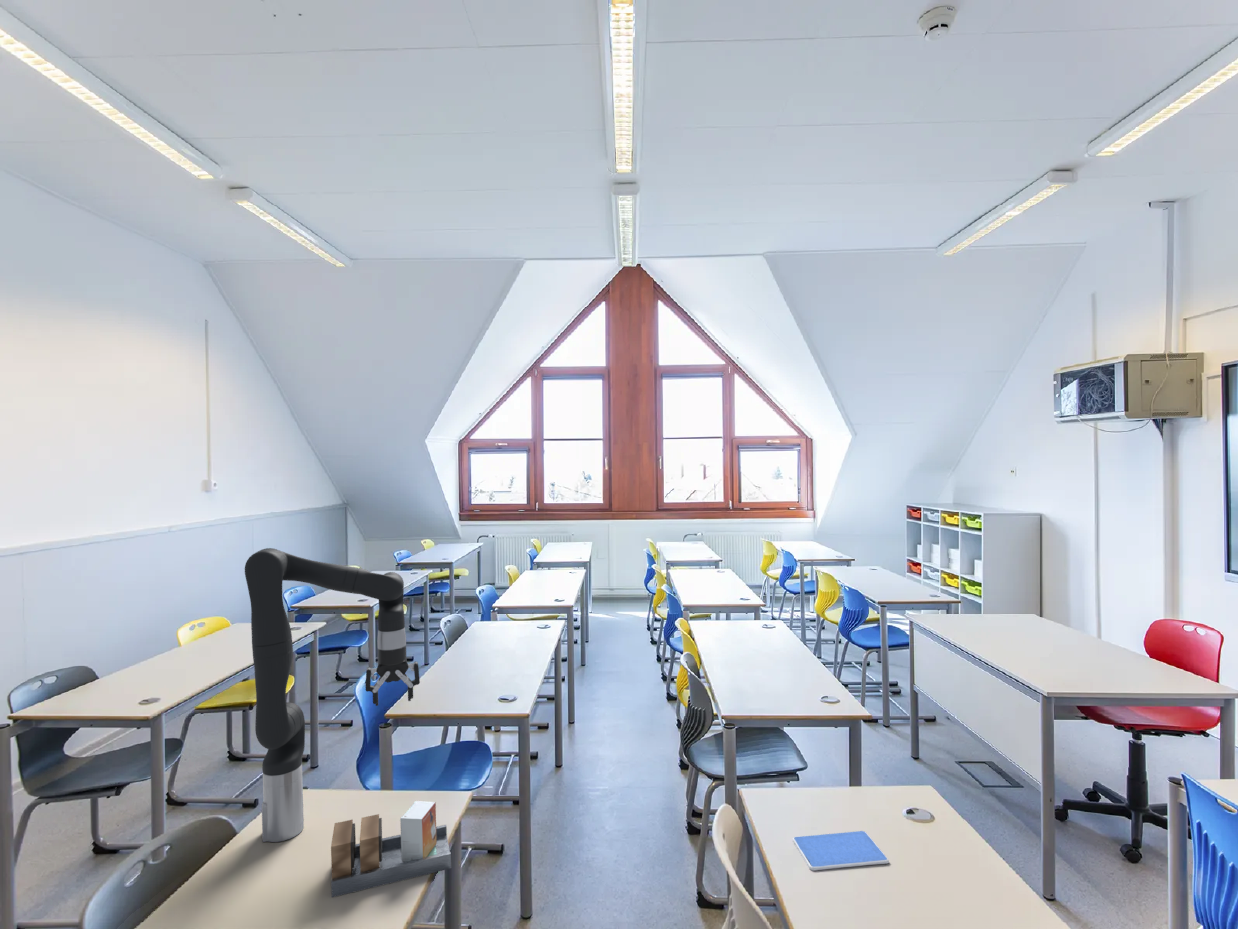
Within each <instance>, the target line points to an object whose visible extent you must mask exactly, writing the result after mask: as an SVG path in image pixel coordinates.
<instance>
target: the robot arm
mask: <svg viewBox="0 0 1238 929" xmlns="http://www.w3.org/2000/svg"><path fill="white" fill-rule="evenodd" d="M244 575H245V581H246V584H247V591H248V595H249V596H248V597H249V601H250V602H249V603H250V608H251V609H250V610H251V614H250V615H251V617H250V618H251V619H250V620H251V622H250V623H251V624H250V625H251V626H250V628H251V648H252V651H251V652H252V660H253V669H254V682H255V694H256V695H255V697H256V698H255V700H256V701H255V703H256V704H255V722H254V723H255V727H254V728H255V731H254V732H255V736H256V739H257V741H258V743H259V744H260V745H261V746H262V747H263V748H265V749H267V752H266V754H265V756H264V758H263V761H262V766H261V768H262V771H261V772H262V796H263V797H262V798H263V802H262V804H261V826H262V827H261V830H262V843H265V842H271V843H279V842H284V841H288V840H290V839H292V838H294V837H297V836H298V835H299V834H300V833H301V832H302V831H303V830H304V827H305V826H304V825H305V823H304V822H305V821H304V820H305V819H304V818H305V817H304V796H303V795H304V794H303V792H304V789H303V784H304V783H303V755H304V752H305V745H306V743H305V742H306V740H305V738H306V720H305V715H304V712H303V710H302V708H301V707H300V706H299V705H298V704H297V703H294V702H289V701H287V685H288V680H289V677H290V673H291V668H292V665H293V659H294V658H293V657H294V647H293V636H292V629H291V625H290V622H289V618H288V616H287V612H286V610H285V606H284V600H283V581H287V582H289V581H290V582H292V581H293V582H301V583H307V584H310V585H313V586H318V587H320V588H324V589H327V590H330V591H331V590H332V591H336V592H341V593H347V594H353V595H363V596H365V597H369V598H372V599H375V600H378V614H377V616H378V617H377V628H378V629H377V642H376V643H377V644H376V645H377V667H370V666H368V667H366V671H365V689H364V690H365V691H366V692H371V693H372V703H373V705H375V706H376V707H377V706H379V690H380V688H381V686H382V685H383V684H384V683H385V682H386V683H392V682H399V681H403V683H404V684H405V685H406V686H407V701H408V702H411V701H412V699H414V688H415V686H417V685H419V684H420V683H421V681H420V680H421V679H420V667H419V661H414V662H412V663H408V661H407V634H406V626H405V624H406V623H405V622H406V621H405V618H406V617H405V609H404V594H405V593H404V589H405V588H404V586H405V584H404V579H403V577H402V576H401V575H400V574H399V573H397V572H393V571H390V572H386V573H384V574H382V573H377V572H376V573H375V572H371V571H369V570H367V569H366V568H361V567H354V566H349V565H342V564H337V563H330V562H329V563H328V562H322V561H316V560H311V559H309V558H308V559H307V558H305V557H301V556H297V555H294V554H291V553H288V552H285V551H281V550H279V549H277V548H271V547H269V548H268V547H267V548H263V549H260V550H258V551H256V552H254V553H252V554H251V555H250V556H249V557H248V559H247V560H246V562H245V565H244ZM409 669H410V671H411V672H414V673H413V674H414V679H413V680H412V679H411V678H410V677H409V676H408V675H407V672H408V670H409ZM375 673H377V675H378V676H379V677H378V679H377V681H376V682H375V683H374V685H371V680H372V678H371V677H375V676H374V675H375Z"/></svg>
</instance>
